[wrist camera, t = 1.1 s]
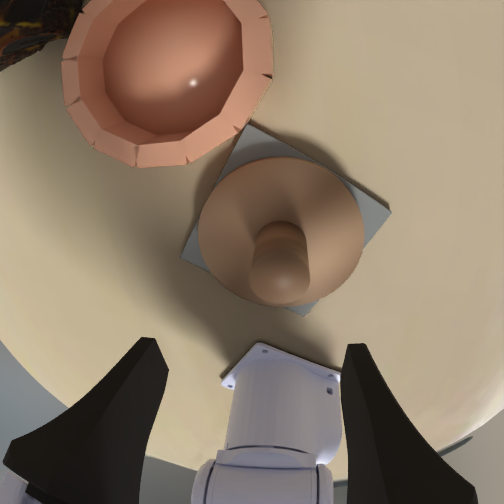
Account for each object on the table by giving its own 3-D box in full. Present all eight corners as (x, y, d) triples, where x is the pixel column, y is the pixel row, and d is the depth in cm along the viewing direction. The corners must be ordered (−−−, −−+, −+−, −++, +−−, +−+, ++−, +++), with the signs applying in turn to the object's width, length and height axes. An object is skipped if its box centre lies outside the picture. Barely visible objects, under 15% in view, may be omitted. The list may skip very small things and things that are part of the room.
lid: (391, 212, 17) (418, 252, 13) (303, 316, 22) (305, 365, 18) (247, 124, 15) (233, 139, 11) (179, 257, 20) (157, 301, 16)
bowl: (310, 20, 12) (316, 6, 9) (216, 181, 18) (203, 202, 15) (139, -37, 10) (114, -51, 7) (73, 114, 16) (43, 124, 13)
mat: (389, 209, 17) (391, 212, 17) (303, 313, 22) (304, 316, 22) (247, 123, 15) (247, 124, 15) (181, 254, 21) (179, 257, 20)
